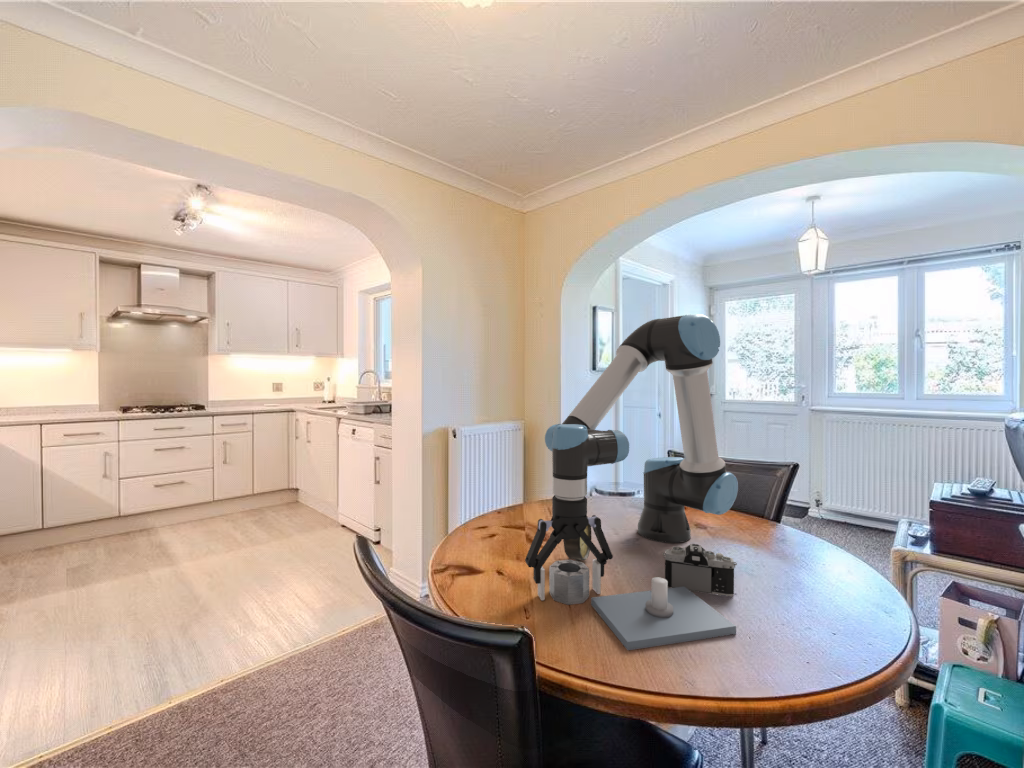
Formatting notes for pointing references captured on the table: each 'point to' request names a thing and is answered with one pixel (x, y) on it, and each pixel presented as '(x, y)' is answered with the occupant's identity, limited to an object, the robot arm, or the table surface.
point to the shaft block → (660, 616)
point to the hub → (569, 581)
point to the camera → (699, 570)
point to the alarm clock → (577, 547)
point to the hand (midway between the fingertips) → (569, 594)
